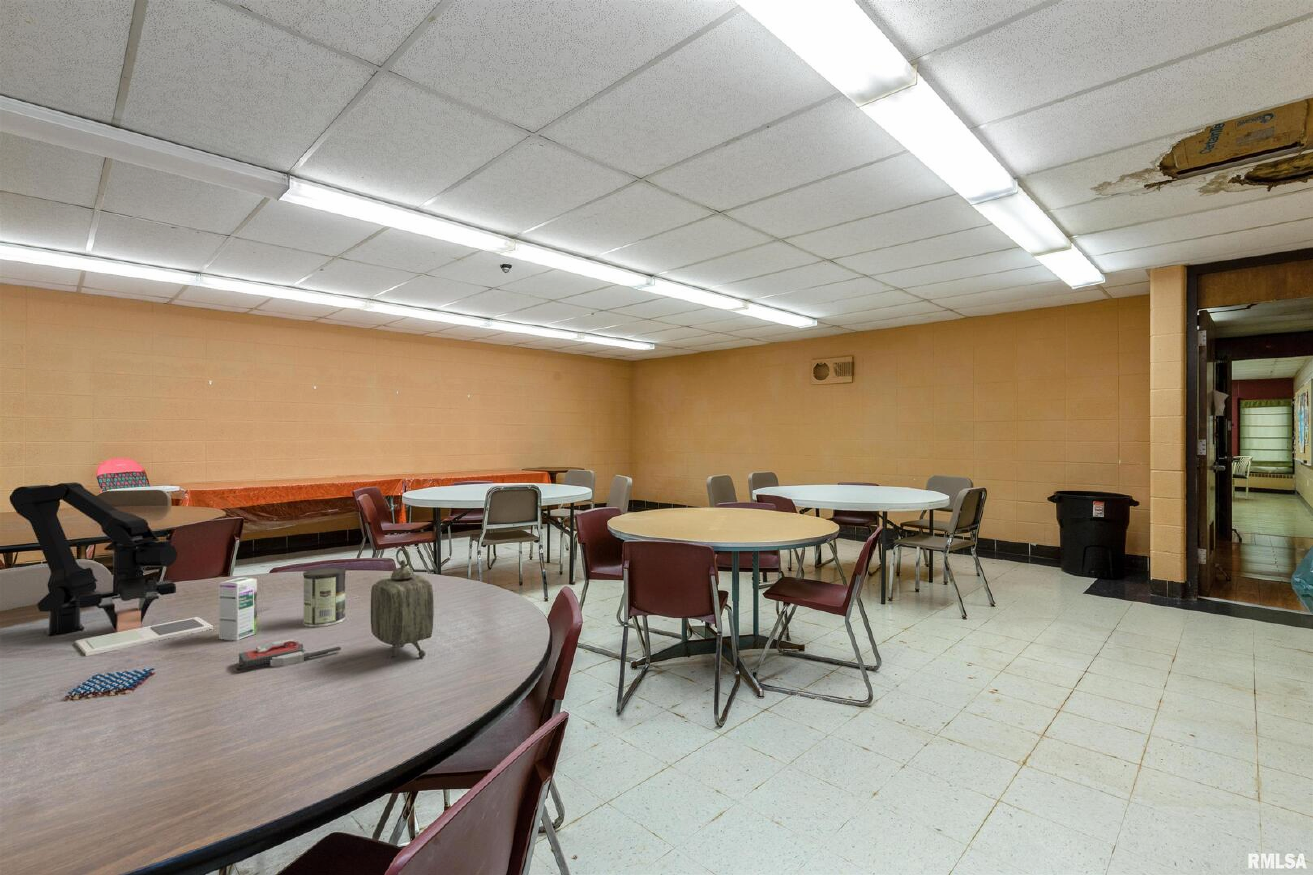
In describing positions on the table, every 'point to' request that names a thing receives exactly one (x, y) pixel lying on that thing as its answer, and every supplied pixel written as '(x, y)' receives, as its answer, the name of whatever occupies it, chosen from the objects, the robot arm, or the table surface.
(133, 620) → the terracotta block
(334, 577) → the coffee can
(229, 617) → the syrup box
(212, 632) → the table surface
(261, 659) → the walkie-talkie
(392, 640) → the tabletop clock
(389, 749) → the table surface
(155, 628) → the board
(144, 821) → the table surface
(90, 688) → the woven mat
